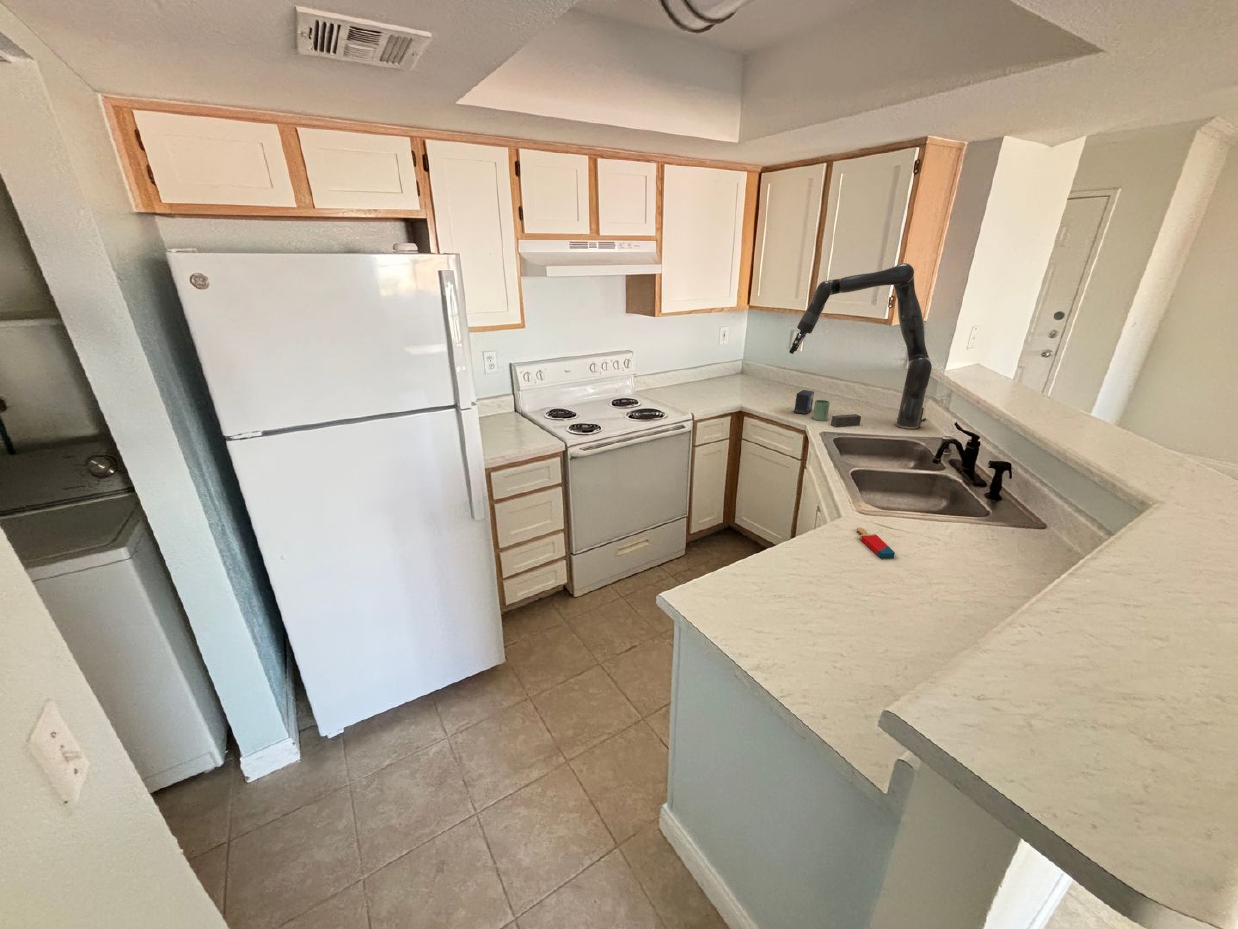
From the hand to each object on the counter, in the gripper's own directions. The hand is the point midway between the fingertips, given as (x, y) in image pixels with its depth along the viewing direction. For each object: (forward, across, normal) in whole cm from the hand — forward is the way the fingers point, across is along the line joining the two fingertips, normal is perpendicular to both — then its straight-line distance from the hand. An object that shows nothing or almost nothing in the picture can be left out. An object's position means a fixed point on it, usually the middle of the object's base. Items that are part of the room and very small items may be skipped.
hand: (792, 351), depth 253 cm
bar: (+18, -10, -40) cm, 45 cm away
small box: (+27, +5, -19) cm, 33 cm away
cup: (+23, -5, -28) cm, 37 cm away
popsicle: (+12, -126, -56) cm, 139 cm away
